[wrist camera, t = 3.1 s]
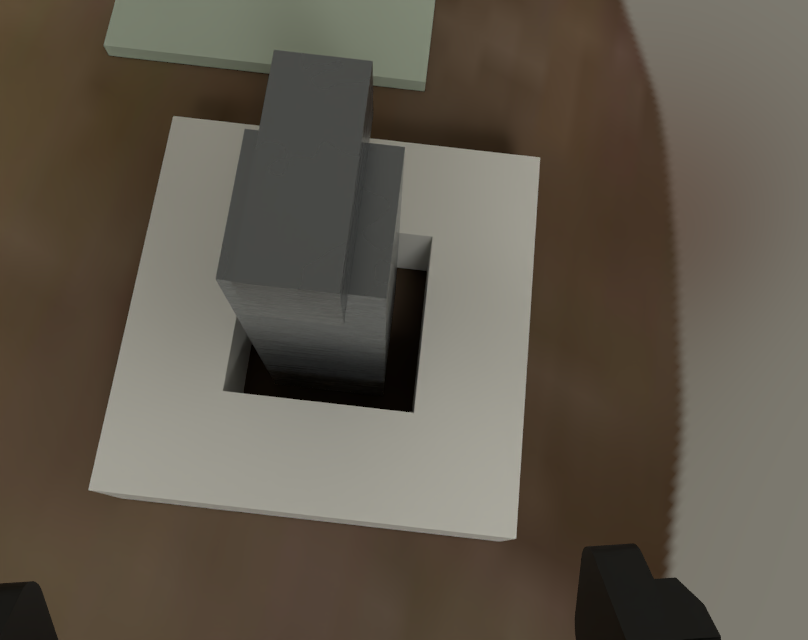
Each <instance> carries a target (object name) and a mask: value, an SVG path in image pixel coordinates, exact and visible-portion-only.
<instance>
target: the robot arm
mask: <svg viewBox="0 0 808 640" xmlns="http://www.w3.org/2000/svg"><path fill="white" fill-rule="evenodd" d="M575 635H576V640H721V636H720V634H719V632H718V630H717V628H716V626H715V625H714V623H713V621H712V619H711V617H710V615H709V613H708V611H707V609H706V607H705V605H704V604H703V603H702V602H701V601H700V600H699V599H698V598H697V597H696V596H694V594H692V593H691V592H690V591H689V590H688V589H687V588H686V587H685V586H684V585H683V584H682V583H681V582H680V581H679V580H678V579H677V578H663V579H654V578H653V576H652V574H651V572H650V570H649V568H648V565H647V563H646V561H645V559H644V557H643V555H642V553H641V551H640V549H639V548H638V546H637V545H636V544H619V545H604V546H589V547H585V548H584V549H583V552H582V558H581V567H580V576H579V585H578V594H577V603H576V611H575ZM0 640H58V638H57V635H56V632H55V629H54V626H53V623H52V620H51V617H50V614H49V611H48V608H47V605H46V602H45V599H44V596H43V593H42V590H41V588H40V586H39V584H37V583H36V582H34V581H32V582H16V583H1V584H0Z"/></svg>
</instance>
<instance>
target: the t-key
mask: <svg viewBox="0 0 808 640" xmlns="http://www.w3.org/2000/svg"><path fill="white" fill-rule="evenodd" d="M372 121H373V61H368V60H359V59H351V58H342V57H333V56H324V55H315V54H307V53H298V52H289V51H280V50H274V52H273V57H272V63H271V68H270V73H269V79H268V84H267V89H266V95H265V100H264V105H263V111H262V116H261V121H260V127H259V130H251V129H245V130H244V135H243V140H242V145H241V151H240V156H239V161H238V166H237V171H236V176H235V181H234V187H233V192H232V197H231V202H230V207H229V212H228V217H227V222H226V228H225V233H224V238H223V243H222V248H221V253H220V258H219V264H218V269H217V274H216V281H217V283H218V284H219V286H220V288H221V290H222V291H223V293H224V295H225V297H226V298H227V300H228V302H229V304H230V305H231V307H232V309H233V311H234V312H235V314H236V316H237V318H238V320H239V321H240V323H241V325H242V327H243V328H244V330H245V332H246V334H247V335H248V337H249V339H250V341H251V342H252V344H253V346H254V348H255V349H256V351H257V353H258V355H259V356H260V358H261V360H262V362H263V363H264V365H265V367H266V369H267V370H268V372H269V374H270V376H271V377H272V379H273V381H274V383H275V384H278V385H287V386H296V387H304V388H313V389H322V390H331V391H339V392H348V393H357V394H366V395H375V396H383V393H384V384H385V376H386V368H387V359H388V351H389V342H390V334H391V326H392V317H393V309H394V300H395V290H396V275H397V260H398V245H399V230H400V215H401V200H402V185H403V170H404V155H405V147H401V146H392V145H383V144H374V143H369V142H370V135H371V128H372Z"/></svg>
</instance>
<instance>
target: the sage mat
mask: <svg viewBox="0 0 808 640" xmlns="http://www.w3.org/2000/svg"><path fill="white" fill-rule="evenodd" d="M434 7H435V0H115V4H114V8H113V12H112V15H111V19H110V23H109V27H108V30H107V34H106V38H105V42H104V47H105V49H106V51H107V53H108V55H109V56H118V57H127V58H136V59H145V60H153V61H162V62H171V63H180V64H189V65H197V66H206V67H215V68H224V69H233V70H241V71H250V72H259V73H268V74H269V73H270V68H271V63H272V57H273V52H274V50H280V51H289V52H298V53H307V54H315V55H324V56H333V57H342V58H351V59H359V60H368V61H373V85H374V86H382V87H391V88H400V89H409V90H418V91H425V84H426V76H427V67H428V59H429V50H430V42H431V33H432V24H433V16H434Z"/></svg>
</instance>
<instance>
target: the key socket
mask: <svg viewBox="0 0 808 640" xmlns="http://www.w3.org/2000/svg"><path fill="white" fill-rule="evenodd" d="M259 127H260V126H258V125H249V124H240V123H231V122H223V121H214V120H205V119H196V118H187V117H179V116H173V119H172V124H171V128H170V132H169V137H168V141H167V146H166V150H165V154H164V159H163V163H162V168H161V172H160V177H159V181H158V185H157V190H156V194H155V199H154V203H153V207H152V212H151V216H150V221H149V225H148V229H147V234H146V238H145V243H144V247H143V251H142V256H141V260H140V265H139V269H138V273H137V278H136V282H135V287H134V291H133V295H132V300H131V304H130V309H129V313H128V317H127V322H126V326H125V331H124V335H123V339H122V344H121V348H120V353H119V357H118V362H117V366H116V370H115V375H114V379H113V384H112V388H111V392H110V397H109V401H108V406H107V410H106V414H105V419H104V423H103V428H102V432H101V436H100V441H99V445H98V450H97V454H96V458H95V463H94V467H93V472H92V476H91V480H90V485H89V489H88V490H90V491H94V492H98V493H102V494H106V495H110V496H114V497H118V498H123V499H132V500H141V501H149V502H158V503H167V504H176V505H184V506H193V507H202V508H211V509H219V510H228V511H237V512H246V513H254V514H263V515H272V516H281V517H289V518H298V519H307V520H316V521H325V522H333V523H342V524H351V525H360V526H368V527H377V528H386V529H395V530H403V531H412V532H421V533H430V534H438V535H447V536H456V537H465V538H474V539H482V540H491V541H506V540H512V539H516V532H517V516H518V500H519V484H520V468H521V452H522V437H523V421H524V405H525V389H526V373H527V357H528V341H529V325H530V309H531V293H532V278H533V262H534V246H535V230H536V214H537V198H538V182H539V166H540V157H531V156H522V155H513V154H504V153H496V152H487V151H478V150H469V149H460V148H452V147H443V146H434V145H425V144H416V143H408V142H399V141H390V140H381V139H372V138H370V142H369V143H374V144H383V145H392V146H401V147H405V155H404V170H403V185H402V200H401V215H400V230H399V245H398V260H397V268H405V269H414V270H423V271H427V274H426V283H425V292H424V302H423V311H422V320H421V330H420V339H419V348H418V358H417V367H416V376H415V386H414V395H413V405H412V413H411V412H402V411H394V410H385V409H376V408H367V407H359V406H350V405H341V404H332V403H324V402H315V401H306V400H297V399H288V398H280V397H271V396H262V395H253V394H245V393H243V391H244V386H245V380H246V374H247V368H248V363H249V357H250V351H251V345H252V342H251V341H250V339H249V337H248V335H247V334H246V332H245V330H244V328H243V327H242V325H241V323H240V321H239V320H238V318H237V316H236V314H235V312H234V311H233V309H232V307H231V305H230V304H229V302H228V300H227V298H226V297H225V295H224V293H223V291H222V290H221V288H220V286H219V284H218V283H217V281H216V274H217V269H218V264H219V258H220V253H221V248H222V243H223V238H224V233H225V228H226V222H227V217H228V212H229V207H230V202H231V197H232V192H233V187H234V181H235V176H236V171H237V166H238V161H239V156H240V151H241V145H242V140H243V135H244V130H245V129H251V130H259Z"/></svg>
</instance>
